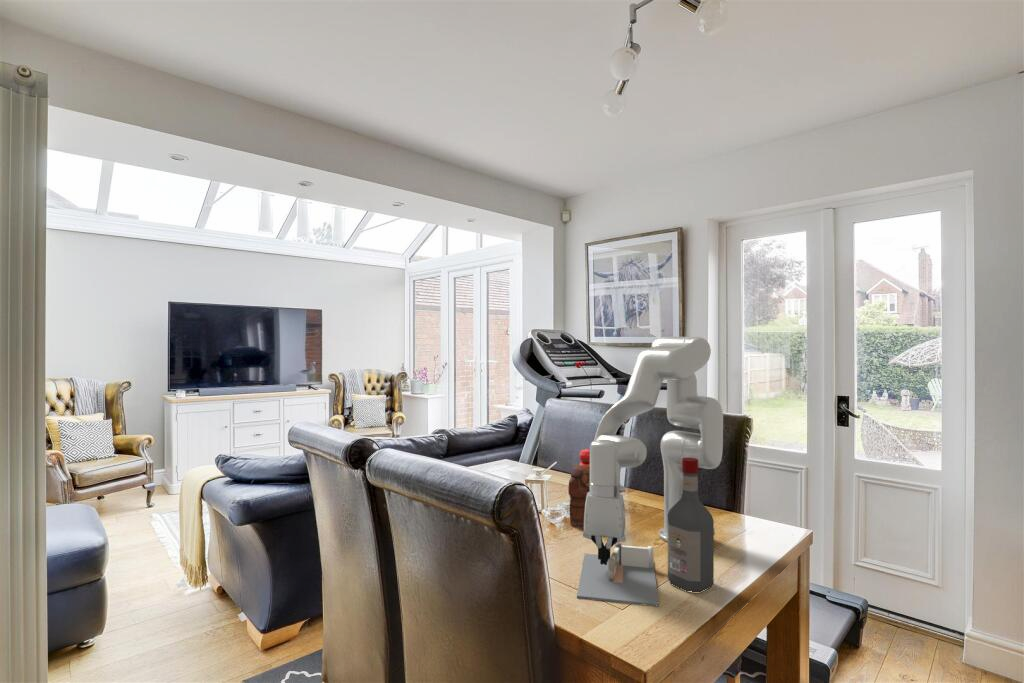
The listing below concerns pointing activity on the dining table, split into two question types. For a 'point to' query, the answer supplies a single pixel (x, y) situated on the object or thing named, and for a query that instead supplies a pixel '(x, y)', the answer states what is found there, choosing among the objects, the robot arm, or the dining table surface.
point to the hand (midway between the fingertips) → (604, 562)
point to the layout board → (621, 577)
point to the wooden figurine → (578, 494)
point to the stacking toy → (585, 458)
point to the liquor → (690, 536)
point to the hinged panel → (613, 564)
